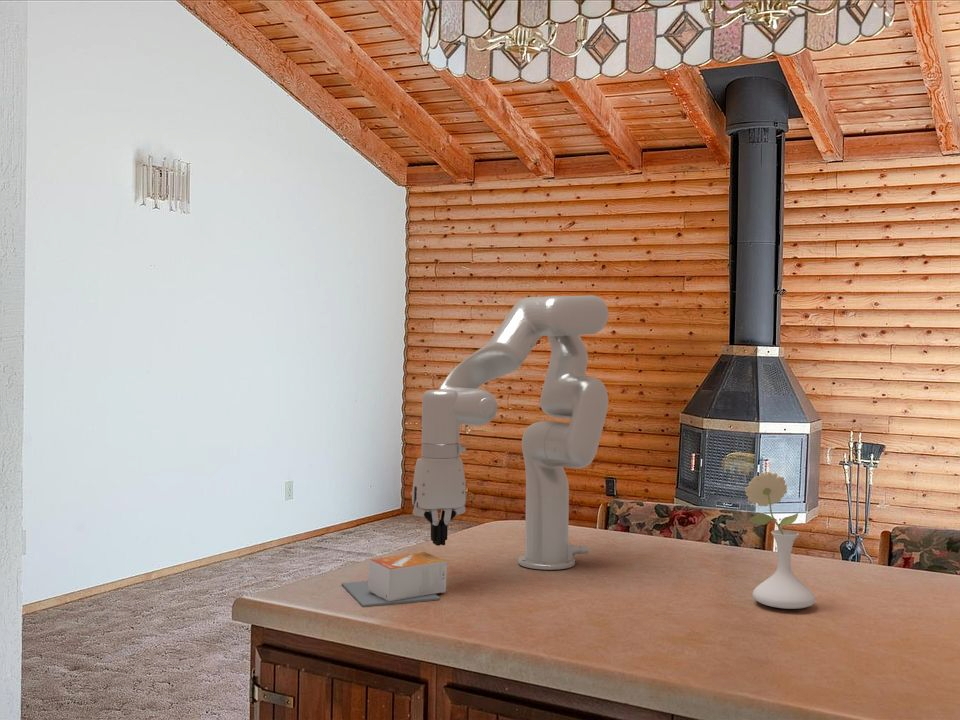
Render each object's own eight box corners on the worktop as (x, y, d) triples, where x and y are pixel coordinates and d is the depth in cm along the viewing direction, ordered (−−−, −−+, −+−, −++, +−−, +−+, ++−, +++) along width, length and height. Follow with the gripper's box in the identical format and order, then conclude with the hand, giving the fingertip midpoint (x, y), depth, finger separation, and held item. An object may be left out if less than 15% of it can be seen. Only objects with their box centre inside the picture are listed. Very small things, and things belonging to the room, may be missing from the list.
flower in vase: (815, 601, 181) (817, 470, 181) (816, 616, 171) (818, 478, 170) (745, 594, 186) (746, 467, 185) (741, 609, 175) (743, 474, 175)
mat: (413, 579, 195) (413, 577, 195) (440, 599, 180) (440, 597, 179) (341, 585, 190) (341, 583, 190) (362, 607, 174) (362, 604, 174)
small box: (447, 560, 183) (389, 569, 176) (446, 592, 184) (388, 602, 176) (425, 550, 190) (368, 558, 182) (424, 581, 190) (367, 591, 183)
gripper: (468, 449, 194) (467, 538, 194) (398, 451, 189) (397, 542, 189) (482, 453, 187) (480, 545, 187) (409, 455, 182) (408, 550, 182)
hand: (438, 544), depth 188 cm, fingers closed
